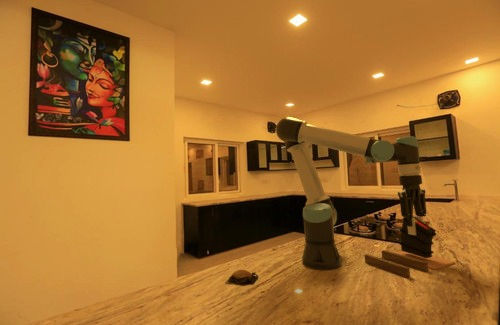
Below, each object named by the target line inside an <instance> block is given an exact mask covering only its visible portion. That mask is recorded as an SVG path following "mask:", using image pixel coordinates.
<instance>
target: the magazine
mask: <svg viewBox="0 0 500 325" xmlns="http://www.w3.org/2000/svg"><path fill="white" fill-rule="evenodd" d="M413 218H415V216H413ZM401 225H402V226H401V228H399V231H400V232H401V233H400V241H399V245H400V247H401V251H404V252H408V253H411V254H414V255H417V256H421V257H424V258H430V257H432V256H433V254H434V251H433V250H432V245H434V244H435V242H433V238H434V237H435V236H437V233H436V230H435V229H434V228H433V227H431V226H429V225H428V224H426V223H425V222H424V221H423V222H421V221H420V220H418V219H417V218H415V226H416V235H411V234H408V227H407V221H406V218H405V217H402V224H401Z"/></svg>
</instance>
